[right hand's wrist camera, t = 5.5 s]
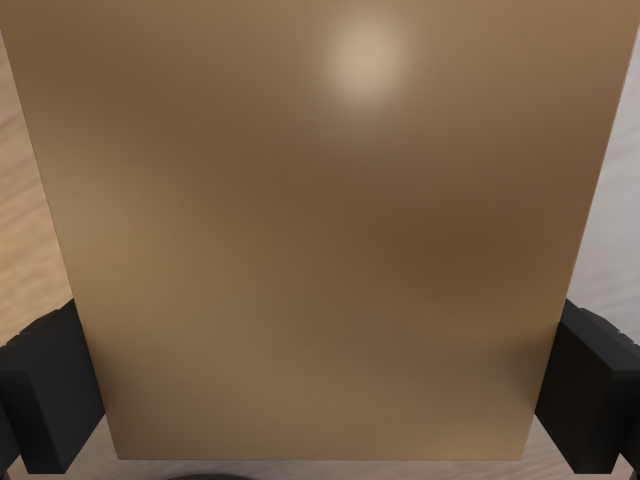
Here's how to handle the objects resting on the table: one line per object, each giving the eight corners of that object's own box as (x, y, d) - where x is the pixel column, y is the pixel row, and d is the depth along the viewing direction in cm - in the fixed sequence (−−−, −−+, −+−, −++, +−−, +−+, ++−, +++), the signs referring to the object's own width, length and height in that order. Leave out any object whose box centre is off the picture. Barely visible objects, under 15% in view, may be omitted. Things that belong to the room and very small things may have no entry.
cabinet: (180, -135, 14) (-233, -814, 4) (460, -135, 14) (873, -816, 4) (222, 271, 20) (117, 460, 10) (417, 271, 20) (522, 461, 10)
